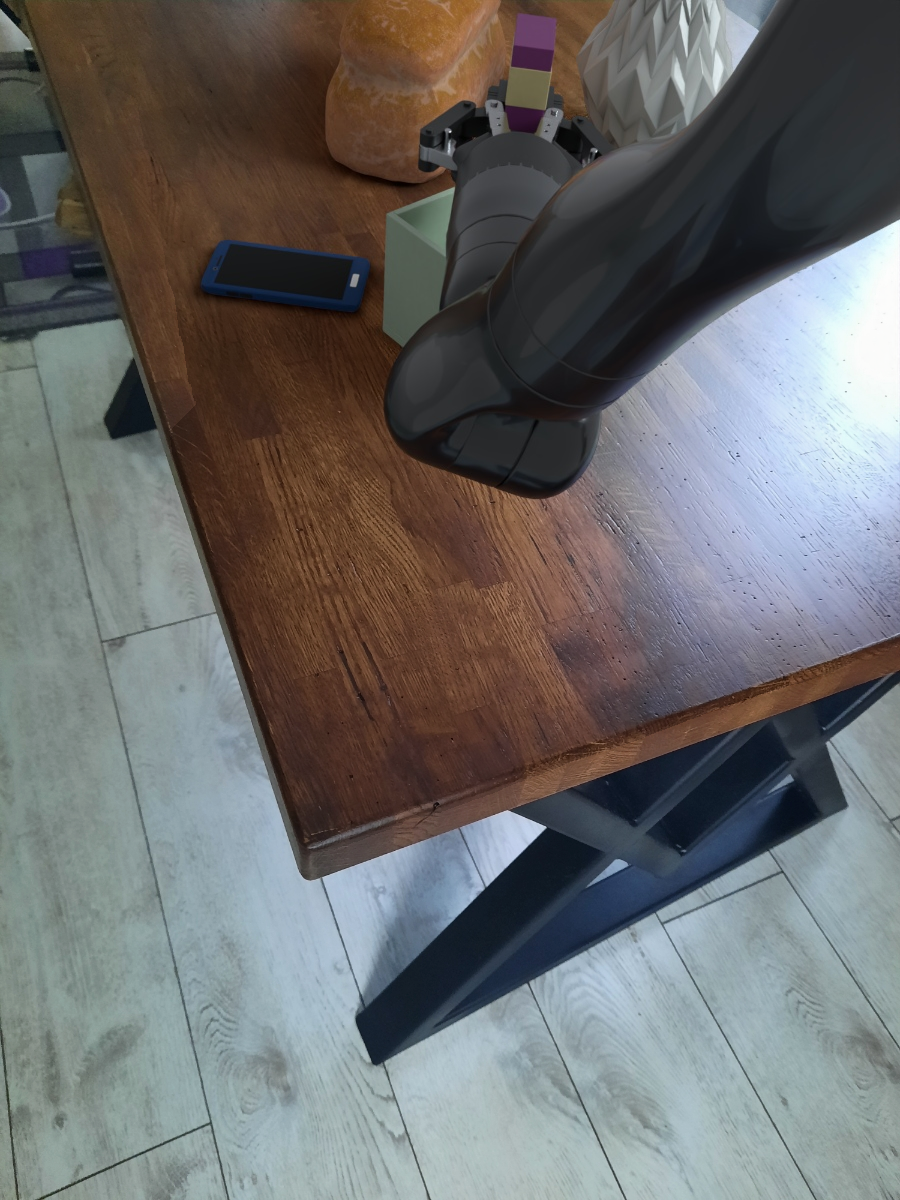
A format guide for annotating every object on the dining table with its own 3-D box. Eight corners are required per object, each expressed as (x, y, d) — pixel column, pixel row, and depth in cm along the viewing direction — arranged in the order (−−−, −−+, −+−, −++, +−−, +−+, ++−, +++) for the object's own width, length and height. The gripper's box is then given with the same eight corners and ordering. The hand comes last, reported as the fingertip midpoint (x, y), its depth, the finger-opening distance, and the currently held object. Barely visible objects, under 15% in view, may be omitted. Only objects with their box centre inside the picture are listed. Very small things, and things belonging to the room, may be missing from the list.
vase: (532, 137, 101) (562, -59, 87) (633, 101, 109) (677, -86, 94) (640, 207, 95) (692, 6, 80) (740, 163, 102) (805, -28, 87)
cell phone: (358, 314, 80) (358, 306, 79) (198, 292, 80) (197, 285, 79) (371, 265, 85) (371, 258, 84) (219, 245, 84) (219, 237, 84)
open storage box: (494, 278, 85) (510, 164, 77) (598, 354, 80) (628, 240, 71) (382, 330, 79) (385, 213, 71) (486, 415, 74) (504, 300, 65)
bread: (312, 166, 94) (306, -1, 82) (402, 63, 110) (408, -90, 97) (437, 199, 92) (450, 34, 80) (511, 90, 108) (531, -63, 96)
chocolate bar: (494, 185, 71) (516, 12, 61) (529, 190, 71) (557, 17, 61) (489, 221, 68) (512, 45, 58) (526, 226, 68) (555, 50, 58)
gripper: (642, 184, 53) (634, 53, 63) (398, 151, 52) (431, 25, 63) (612, 298, 59) (609, 160, 69) (393, 268, 58) (424, 135, 69)
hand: (524, 96), depth 66 cm, fingers closed on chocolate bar, 2 cm apart
